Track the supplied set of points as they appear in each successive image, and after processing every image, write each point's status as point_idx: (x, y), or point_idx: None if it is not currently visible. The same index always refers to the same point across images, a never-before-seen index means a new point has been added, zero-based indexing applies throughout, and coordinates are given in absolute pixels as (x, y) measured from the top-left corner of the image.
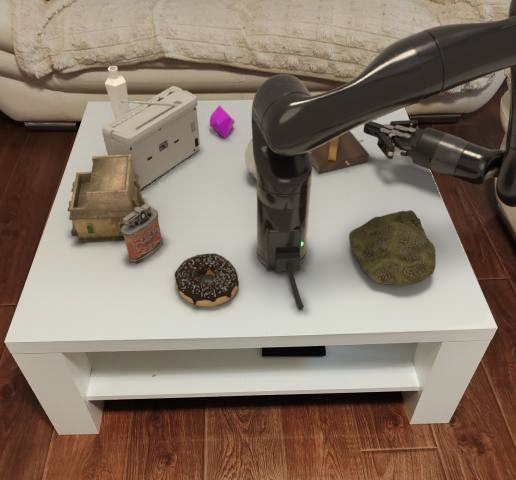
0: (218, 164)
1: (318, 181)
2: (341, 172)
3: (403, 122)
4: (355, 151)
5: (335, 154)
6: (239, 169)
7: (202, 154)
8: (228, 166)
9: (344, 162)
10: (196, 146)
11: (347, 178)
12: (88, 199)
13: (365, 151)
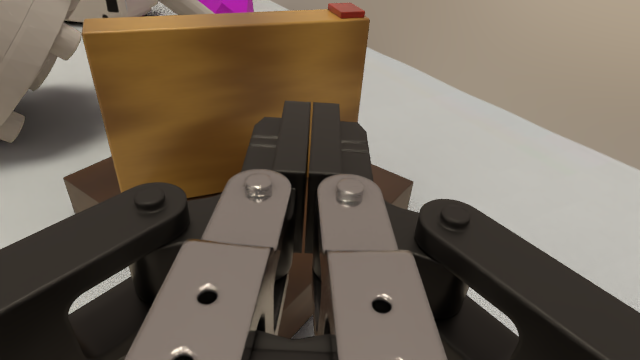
0: (75, 53)
1: (7, 230)
2: (111, 282)
3: (571, 307)
4: None
5: (118, 175)
6: (59, 76)
7: None
8: (70, 63)
9: None
10: (111, 11)
11: None
12: None
13: (287, 294)
